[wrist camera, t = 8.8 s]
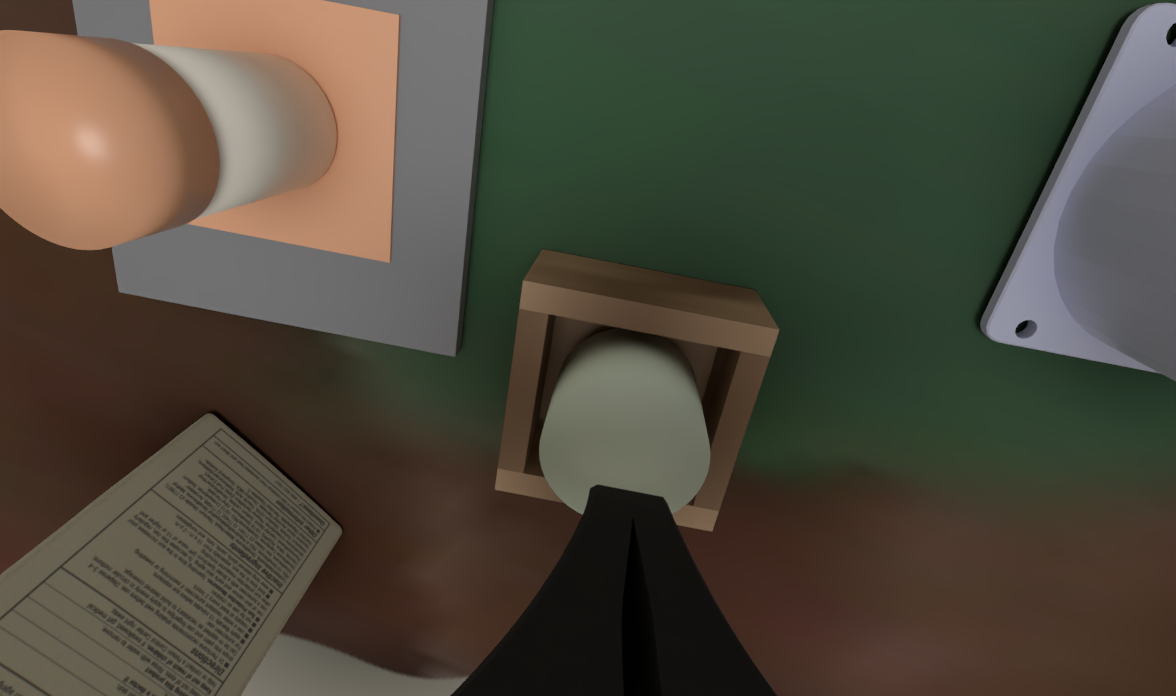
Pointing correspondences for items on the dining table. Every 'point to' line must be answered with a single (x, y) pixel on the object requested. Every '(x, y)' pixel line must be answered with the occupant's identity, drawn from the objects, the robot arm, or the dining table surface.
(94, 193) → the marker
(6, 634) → the skincare box
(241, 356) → the dining table surface
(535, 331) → the button housing
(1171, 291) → the robot arm
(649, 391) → the button
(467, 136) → the grey square plate
